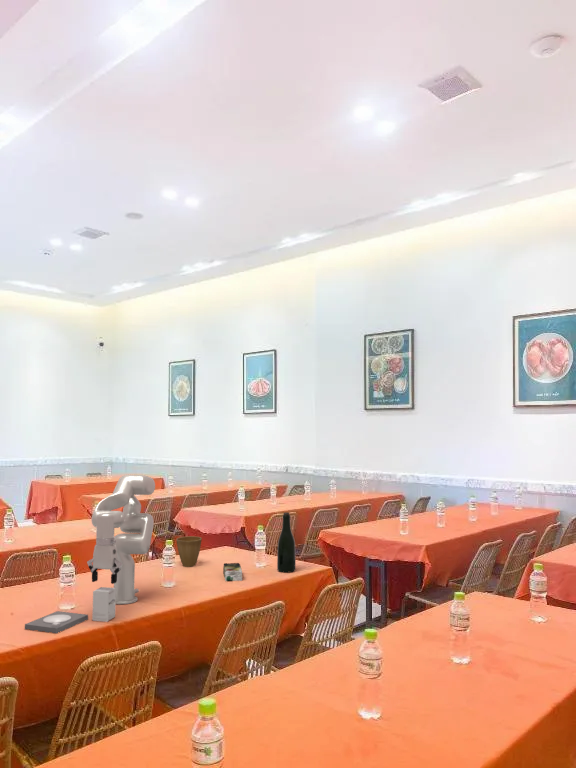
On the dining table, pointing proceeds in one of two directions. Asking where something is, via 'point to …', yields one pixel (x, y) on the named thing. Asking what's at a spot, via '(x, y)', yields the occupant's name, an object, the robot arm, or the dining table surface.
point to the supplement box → (104, 604)
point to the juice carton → (232, 572)
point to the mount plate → (56, 621)
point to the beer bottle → (286, 547)
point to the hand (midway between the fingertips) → (104, 582)
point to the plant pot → (189, 550)
